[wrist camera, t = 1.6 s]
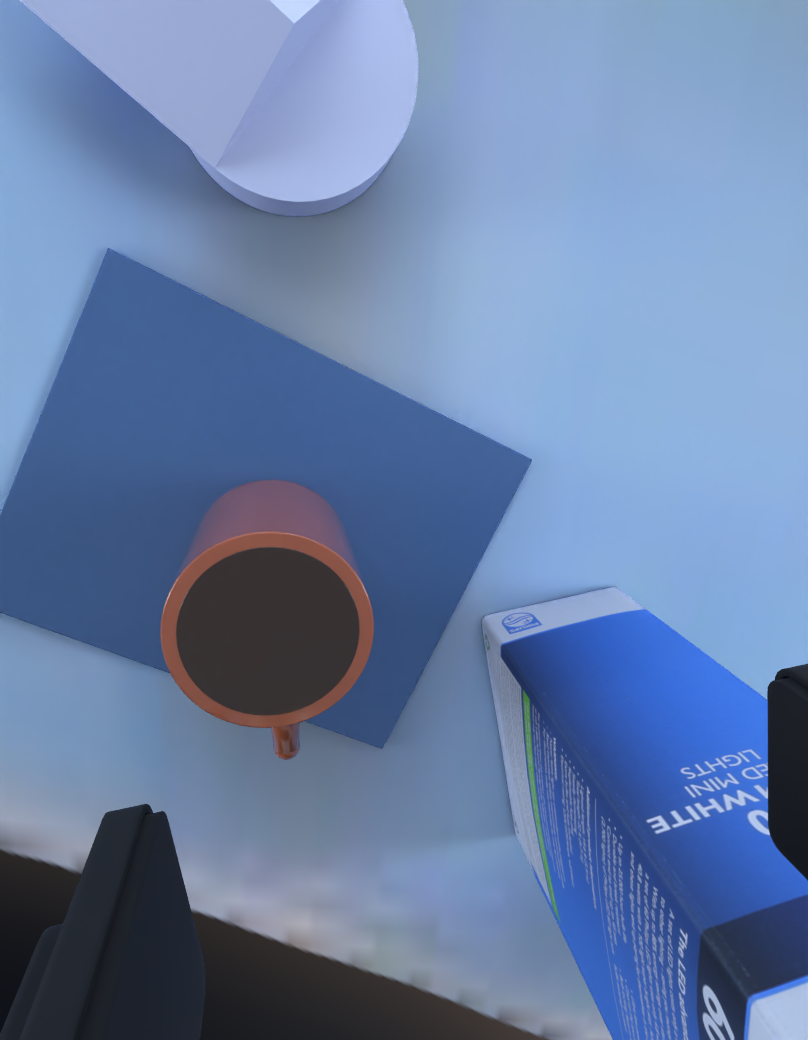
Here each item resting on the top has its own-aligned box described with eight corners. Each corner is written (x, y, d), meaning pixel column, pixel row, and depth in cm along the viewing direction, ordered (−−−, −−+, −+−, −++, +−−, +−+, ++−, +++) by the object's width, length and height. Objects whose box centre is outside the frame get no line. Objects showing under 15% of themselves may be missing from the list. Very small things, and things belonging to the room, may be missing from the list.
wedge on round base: (29, 22, 27) (311, 263, 30) (-51, -78, 20) (320, 243, 24) (175, -189, 26) (447, 85, 29) (141, -363, 19) (494, 14, 23)
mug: (181, 486, 31) (144, 543, 23) (343, 472, 32) (366, 521, 24) (210, 692, 34) (186, 814, 25) (359, 673, 35) (386, 783, 26)
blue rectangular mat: (-32, 597, 31) (-35, 600, 31) (109, 248, 29) (108, 248, 29) (381, 745, 36) (382, 749, 36) (530, 458, 34) (532, 459, 34)
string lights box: (640, 802, 40) (1230, 1566, 15) (508, 839, 39) (904, 1710, 14) (617, 579, 36) (1340, 1099, 12) (471, 613, 35) (914, 1255, 11)
